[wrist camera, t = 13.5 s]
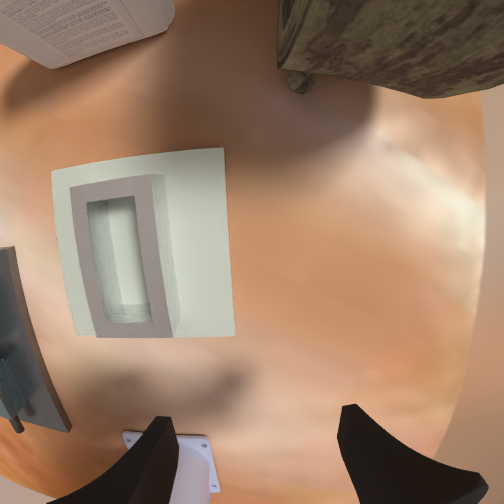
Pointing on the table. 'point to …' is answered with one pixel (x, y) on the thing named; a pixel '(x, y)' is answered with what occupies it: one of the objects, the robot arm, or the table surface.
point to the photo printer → (78, 26)
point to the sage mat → (182, 237)
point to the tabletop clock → (394, 44)
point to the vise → (23, 359)
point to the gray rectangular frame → (104, 266)
